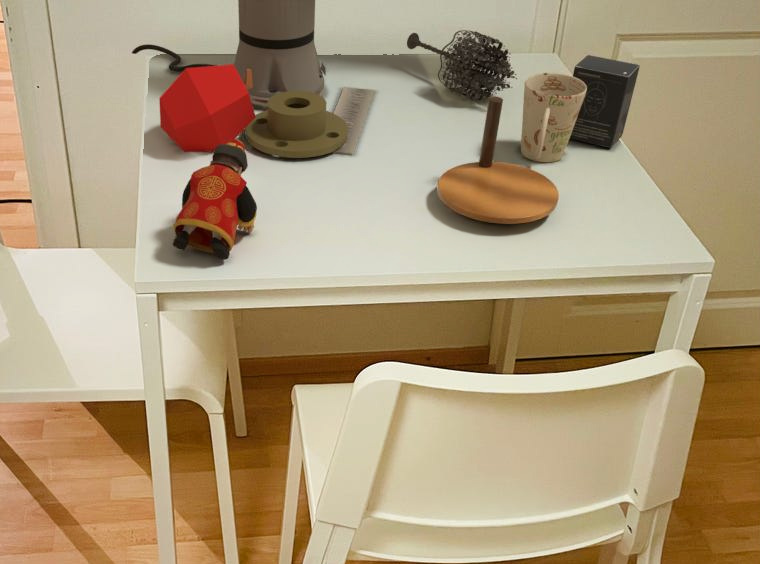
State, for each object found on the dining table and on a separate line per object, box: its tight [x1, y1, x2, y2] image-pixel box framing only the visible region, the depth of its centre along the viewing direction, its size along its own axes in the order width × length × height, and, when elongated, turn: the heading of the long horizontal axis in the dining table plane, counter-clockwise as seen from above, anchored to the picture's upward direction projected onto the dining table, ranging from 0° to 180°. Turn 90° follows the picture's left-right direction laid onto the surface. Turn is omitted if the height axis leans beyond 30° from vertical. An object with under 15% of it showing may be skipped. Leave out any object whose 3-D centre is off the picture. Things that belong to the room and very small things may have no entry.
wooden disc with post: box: [436, 96, 560, 225], centre depth 120 cm, size 16×16×10 cm
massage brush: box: [406, 29, 518, 102], centre depth 149 cm, size 9×22×9 cm
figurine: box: [172, 138, 258, 260], centre depth 115 cm, size 10×10×15 cm
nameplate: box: [329, 87, 375, 156], centre depth 143 cm, size 23×1×5 cm
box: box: [569, 54, 641, 149], centre depth 136 cm, size 8×6×11 cm
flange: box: [244, 91, 348, 159], centre depth 136 cm, size 5×15×15 cm
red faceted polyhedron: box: [158, 63, 256, 153], centre depth 134 cm, size 12×12×15 cm
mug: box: [520, 72, 587, 163], centre depth 131 cm, size 8×13×10 cm, turn 163°
